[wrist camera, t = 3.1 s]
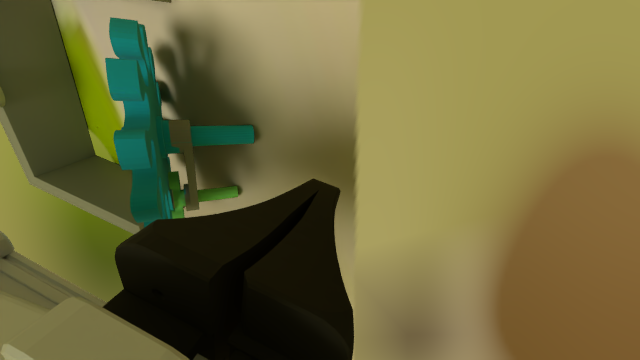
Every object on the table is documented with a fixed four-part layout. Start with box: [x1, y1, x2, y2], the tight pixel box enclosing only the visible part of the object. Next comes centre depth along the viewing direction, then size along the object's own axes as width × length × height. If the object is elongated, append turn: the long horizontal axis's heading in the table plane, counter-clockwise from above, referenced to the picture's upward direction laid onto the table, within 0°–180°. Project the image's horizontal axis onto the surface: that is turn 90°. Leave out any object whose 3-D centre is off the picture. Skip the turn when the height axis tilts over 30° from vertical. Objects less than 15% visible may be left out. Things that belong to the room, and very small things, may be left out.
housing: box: [0, 0, 186, 234], centre depth 15 cm, size 14×11×5 cm
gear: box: [105, 17, 254, 228], centre depth 14 cm, size 11×6×10 cm
